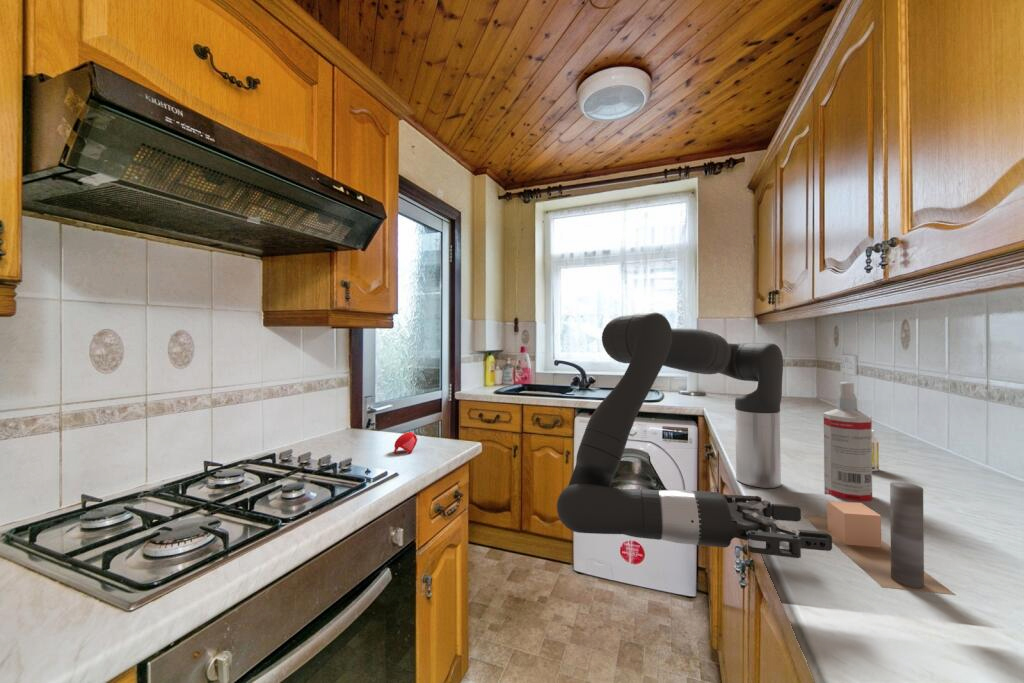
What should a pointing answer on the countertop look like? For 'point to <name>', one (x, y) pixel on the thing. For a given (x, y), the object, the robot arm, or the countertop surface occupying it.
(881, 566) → the pull strip
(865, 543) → the terracotta block
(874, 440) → the supplement bottle
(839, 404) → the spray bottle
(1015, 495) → the countertop surface
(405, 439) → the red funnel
